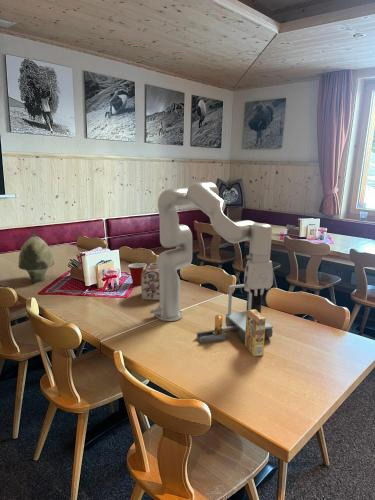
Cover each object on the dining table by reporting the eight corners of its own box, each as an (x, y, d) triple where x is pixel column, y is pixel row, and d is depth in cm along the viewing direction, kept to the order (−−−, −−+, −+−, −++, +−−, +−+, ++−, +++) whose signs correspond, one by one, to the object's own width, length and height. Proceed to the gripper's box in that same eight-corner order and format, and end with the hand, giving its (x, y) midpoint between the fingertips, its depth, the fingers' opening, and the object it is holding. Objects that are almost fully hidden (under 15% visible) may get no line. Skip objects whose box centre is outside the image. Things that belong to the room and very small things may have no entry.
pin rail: (201, 343, 148) (201, 337, 147) (196, 338, 152) (196, 332, 152) (226, 339, 151) (226, 333, 151) (220, 334, 156) (221, 328, 155)
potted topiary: (32, 277, 230) (26, 230, 226) (61, 277, 227) (56, 228, 223) (13, 285, 211) (7, 233, 207) (45, 284, 208) (39, 231, 204)
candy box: (263, 355, 139) (266, 318, 136) (253, 357, 138) (256, 319, 135) (253, 344, 148) (256, 308, 144) (243, 345, 147) (246, 309, 143)
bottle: (263, 315, 175) (266, 275, 171) (255, 319, 170) (258, 278, 166) (251, 311, 180) (253, 272, 175) (243, 315, 175) (245, 275, 170)
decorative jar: (166, 293, 203) (167, 261, 198) (163, 300, 191) (163, 267, 187) (145, 291, 204) (145, 260, 199) (140, 299, 193) (140, 266, 188)
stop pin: (215, 337, 150) (215, 318, 148) (212, 334, 153) (212, 315, 151) (238, 333, 154) (239, 315, 152) (234, 330, 157) (235, 312, 155)
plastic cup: (139, 279, 224) (139, 260, 221) (150, 284, 216) (150, 264, 213) (124, 283, 216) (124, 264, 213) (135, 288, 209) (135, 268, 206)
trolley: (244, 344, 147) (247, 300, 143) (224, 326, 164) (226, 285, 159) (272, 340, 152) (275, 296, 147) (250, 322, 168) (252, 282, 163)
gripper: (246, 261, 129) (243, 310, 133) (282, 258, 134) (278, 305, 138) (236, 256, 135) (233, 303, 140) (271, 253, 141) (267, 298, 145)
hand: (256, 304), depth 139 cm, fingers closed
